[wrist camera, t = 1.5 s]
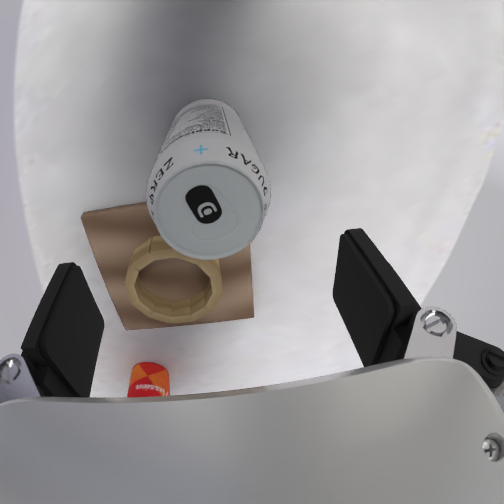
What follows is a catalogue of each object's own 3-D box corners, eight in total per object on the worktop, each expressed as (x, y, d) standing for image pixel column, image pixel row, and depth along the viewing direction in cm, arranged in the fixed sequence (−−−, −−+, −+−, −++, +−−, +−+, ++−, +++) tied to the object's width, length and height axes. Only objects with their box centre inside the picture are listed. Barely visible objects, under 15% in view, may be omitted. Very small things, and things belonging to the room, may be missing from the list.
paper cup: (186, 374, 45) (189, 459, 34) (152, 390, 47) (151, 468, 36) (146, 350, 41) (140, 443, 30) (115, 369, 43) (105, 453, 32)
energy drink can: (190, 174, 28) (182, 286, 16) (159, 117, 24) (114, 189, 12) (252, 146, 27) (295, 240, 15) (224, 85, 24) (246, 123, 12)
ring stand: (83, 212, 28) (72, 231, 25) (245, 190, 30) (250, 207, 27) (126, 324, 38) (123, 345, 35) (252, 311, 39) (257, 333, 36)
